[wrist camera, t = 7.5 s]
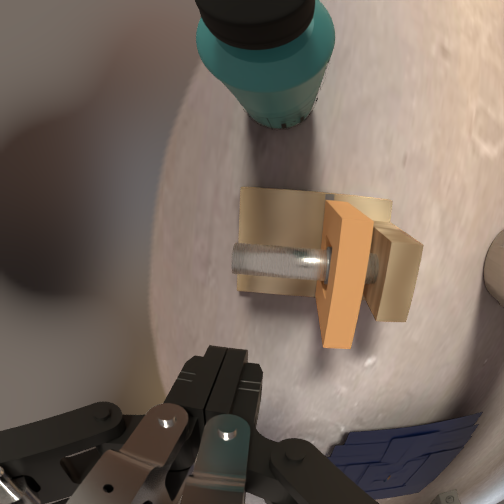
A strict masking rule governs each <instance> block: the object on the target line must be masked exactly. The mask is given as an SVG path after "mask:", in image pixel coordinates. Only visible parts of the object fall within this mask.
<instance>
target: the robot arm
mask: <svg viewBox="0 0 504 504" xmlns="http://www.w3.org/2000/svg"><path fill="white" fill-rule="evenodd" d="M484 281H485V285H486V288H487V290H488V292H489V293H490V294H491V295H492V296H493V297H494V298H495V299H497V300H498V301H499V304H500V305H501V306H502V307H503V308H504V230H502V231H501V232H500V233H499V234H498V235H497V237H496V238H495V239H494V241H493V242H492V244H491V246H490V248H489V251H488V253H487V256H486V260H485V265H484ZM262 379H263V372H262V369H261V367H260V365H259V364H255V363H248V350H243V349H235V348H226V347H218V346H211V345H209V347H208V349H207V351H206V353H205V355H204V357H201V356H194V357H192V358H191V359H190V360H188V361H187V362H186V363H185V365H184V366H183V368H182V370H181V372H180V374H179V376H178V377H177V379H176V381H175V383H174V385H173V386H172V388H171V390H170V392H169V394H168V396H167V397H166V399H165V401H164V403H163V404H159V405H156V406H154V407H152V408H151V409H149V411H148V412H147V413H146V414H145V415H122V412H121V410H120V408H119V407H118V406H117V405H115V404H113V403H110V402H97V403H94V404H91V405H88V406H85V407H82V408H79V409H76V410H73V411H70V412H66V413H63V414H60V415H57V416H54V417H50V418H47V419H44V420H40V421H37V422H33V423H30V424H26V425H22V426H19V427H15V428H11V429H7V430H3V431H0V504H45V503H49V502H52V501H56V500H59V499H63V498H66V497H69V496H71V497H70V498H67V499H64V500H61V501H58V502H55V503H52V504H178V502H179V500H180V498H181V496H182V498H181V501H180V504H245V497H246V492H248V493H251V494H253V495H256V496H258V497H261V498H263V499H264V500H265V502H266V504H379V503H378V502H376V501H375V500H374V499H373V498H372V497H370V496H369V495H368V494H367V493H366V492H365V491H363V490H362V489H361V488H360V487H359V486H358V485H356V484H355V483H354V482H353V481H352V480H351V479H350V478H348V477H347V476H346V475H345V474H344V473H343V472H342V471H341V470H340V469H338V468H337V467H336V466H335V465H334V464H333V463H332V462H331V461H330V460H329V459H328V458H327V457H326V456H324V455H323V454H322V453H321V452H320V451H319V450H318V449H317V448H316V447H315V446H314V445H313V444H311V443H310V442H308V441H306V440H303V439H297V438H291V439H285V440H282V441H280V442H275V441H272V440H269V439H267V438H265V437H264V436H262V435H261V434H260V433H259V432H258V431H257V430H256V424H257V419H258V413H259V408H260V402H261V392H262ZM91 447H96V448H95V449H92V450H89V451H86V452H84V453H81V454H78V455H75V456H72V457H66V456H69V455H72V454H74V453H78V452H80V451H83V450H86V449H89V448H91ZM197 454H198V455H197ZM196 457H197V459H196ZM195 460H196V462H195ZM192 473H193V474H192Z"/></svg>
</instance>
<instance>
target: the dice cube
mask: <svg viewBox="0 0 504 504" xmlns="http://www.w3.org/2000/svg"><path fill="white" fill-rule="evenodd" d="M431 504H461V503H460V500H459V497H458V494H457V491H456V490H452V491H449V492H446V493H442V494H439V495H438V496H437V497H436V498H435V499H434V500H433V501H432V503H431Z"/></svg>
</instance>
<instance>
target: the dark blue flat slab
mask: <svg viewBox="0 0 504 504" xmlns="http://www.w3.org/2000/svg"><path fill="white" fill-rule="evenodd" d="M482 413H483V412H480V413H476V414H472V415H468V416H464V417H460V418H456V419H451V420H447V421H442V422H437V423H431V424H426V425H419V426H412V427H405V428H396V429H387V430H375V431H361V432H350V433H349V435H348V437H347V440H346V442H345V444H344V445H336V446H335V448H334V450H333V452H332V454H331V457H327V458H328V459H329V460H330V461H331V462H332V463H333V464H334V465H335V466H336V467H337V468H338V469H340V470H341V471H342V472H343V473H344V474H345V475H346V476H347V477H348V478H350V479H351V480H352V481H353V482H354V483H355V484H356V485H358V486H359V487H360V488H361V489H362V490H363V491H365V492H366V493H367V494H368V495H369V496H370V497H372V498H373V499H374V500H375V499H383V498H390V497H397V496H403V495H408V494H413V493H418V492H420V491H421V490H422V489H423V488H424V487H426V486H427V485H428V484H429V483H431V482H432V481H433V480H434V479H435V478H436V477H437V476H438V475H439V474H440V473H441V472H442V471H443V470H444V469H445V468H446V467H447V466H448V465H449V464H450V462H451V461H452V460H453V459H454V458H455V457H456V456H457V455H458V454H459V452H460V451H461V450H462V449H463V448H464V445H465V444H466V443H467V442H468V440H469V439H470V438H471V437H472V436H471V435H472V433H473V432H474V430H475V429H476V428H477V426H478V425H479V424H477V425H474V424H475V422H476V421H477V420H478V418H479V417H480V416H481V414H482ZM473 425H474V426H473Z"/></svg>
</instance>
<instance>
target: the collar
mask: <svg viewBox="0 0 504 504" xmlns="http://www.w3.org/2000/svg"><path fill="white" fill-rule="evenodd" d="M373 225H374V221H373V220H371V219H370V218H369V217H367V216H366V215H365V214H363V213H362V212H361V211H359V210H358V209H357V208H355V207H354V206H352V205H351V204H350V203H348V202H343V201H333V200H325V211H324V222H323V232H322V242H321V249H323V250H326V249H327V247H332V255H331V262H330V270H329V277H328V285H327V284H324V281H317V284H316V292H315V297H316V303H317V310H318V316H319V323H320V330H321V337H322V344H323V348H342V349H351V345H352V341H353V337H354V332H355V328H356V323H357V319H358V314H359V309H360V304H361V299H362V294H363V289H364V283H365V278H366V272H367V266H368V260H369V254H370V247H371V240H372V233H373Z"/></svg>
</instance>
